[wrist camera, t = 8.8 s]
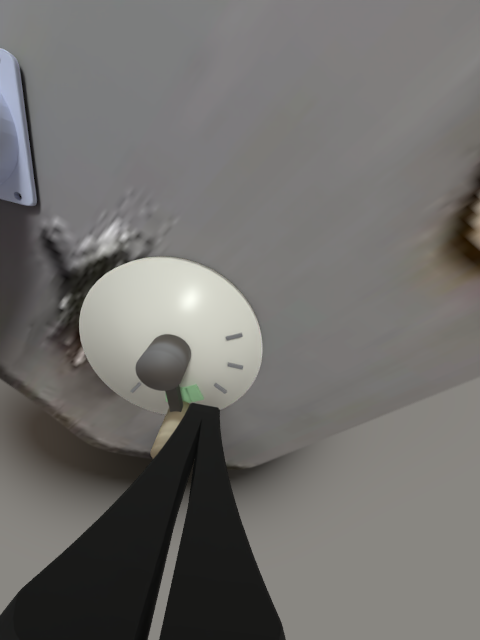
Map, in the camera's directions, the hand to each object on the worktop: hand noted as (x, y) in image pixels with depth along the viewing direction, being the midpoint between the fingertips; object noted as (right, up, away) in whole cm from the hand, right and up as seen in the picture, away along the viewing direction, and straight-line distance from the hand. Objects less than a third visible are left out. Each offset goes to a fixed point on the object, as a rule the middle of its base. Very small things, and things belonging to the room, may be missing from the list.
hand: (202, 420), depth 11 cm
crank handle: (-4, -1, +10) cm, 11 cm away
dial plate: (-4, +2, +10) cm, 11 cm away
